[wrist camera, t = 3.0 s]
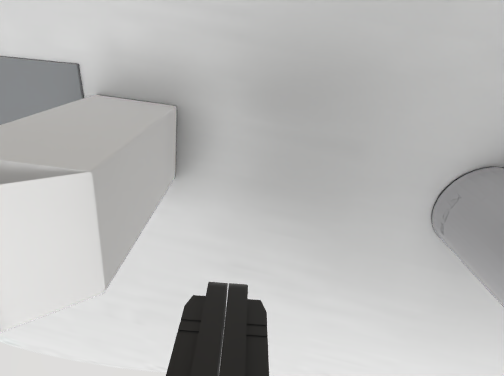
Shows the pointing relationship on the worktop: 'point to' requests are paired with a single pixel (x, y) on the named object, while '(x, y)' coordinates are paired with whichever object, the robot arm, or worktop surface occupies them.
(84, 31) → the worktop surface
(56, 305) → the milk carton
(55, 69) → the mat
